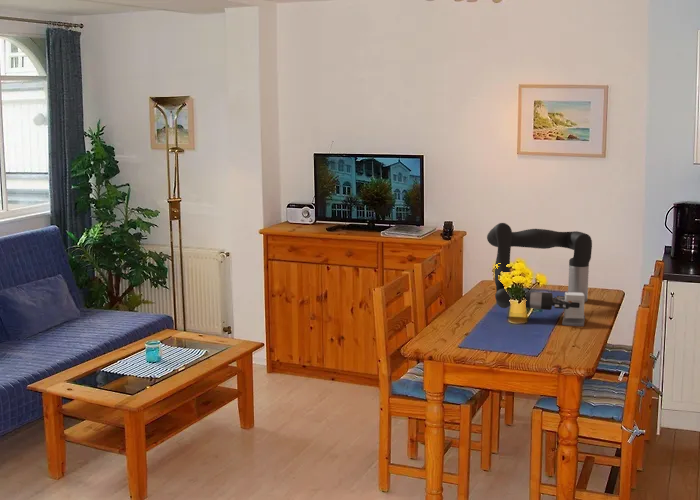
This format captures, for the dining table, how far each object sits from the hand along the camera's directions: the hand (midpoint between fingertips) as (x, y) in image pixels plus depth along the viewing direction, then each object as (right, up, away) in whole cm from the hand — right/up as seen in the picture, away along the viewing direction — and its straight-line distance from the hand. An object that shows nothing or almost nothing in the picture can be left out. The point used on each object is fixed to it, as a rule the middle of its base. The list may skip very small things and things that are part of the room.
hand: (579, 303), depth 377 cm
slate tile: (-2, -8, +2) cm, 9 cm away
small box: (-2, -6, +2) cm, 7 cm away
